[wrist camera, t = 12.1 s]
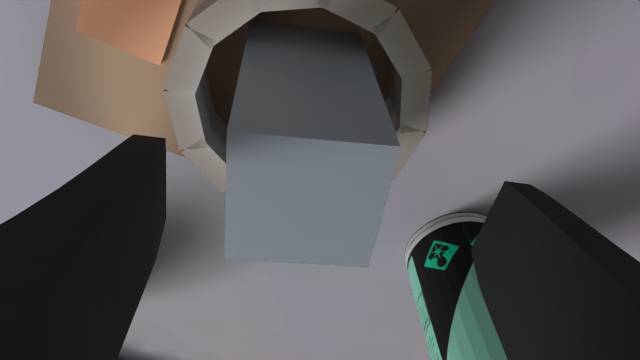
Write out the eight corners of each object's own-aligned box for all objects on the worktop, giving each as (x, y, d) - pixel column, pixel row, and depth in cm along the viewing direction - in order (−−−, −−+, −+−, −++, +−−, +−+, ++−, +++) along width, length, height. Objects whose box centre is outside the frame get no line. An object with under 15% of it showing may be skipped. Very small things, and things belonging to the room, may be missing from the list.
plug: (359, 32, 18) (400, 146, 11) (342, 127, 20) (368, 267, 13) (250, 20, 17) (226, 131, 11) (245, 118, 19) (224, 259, 13)
